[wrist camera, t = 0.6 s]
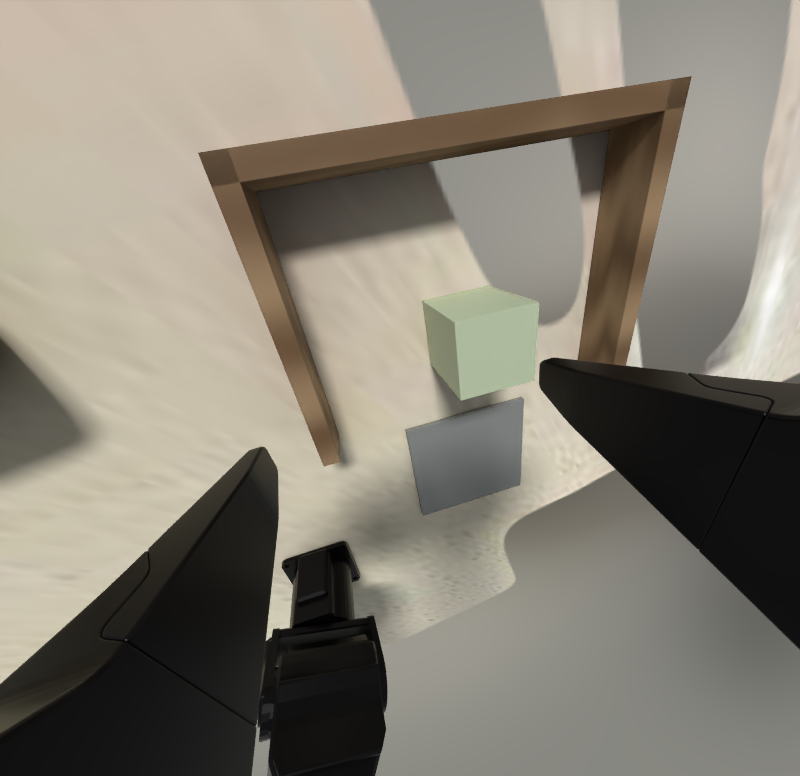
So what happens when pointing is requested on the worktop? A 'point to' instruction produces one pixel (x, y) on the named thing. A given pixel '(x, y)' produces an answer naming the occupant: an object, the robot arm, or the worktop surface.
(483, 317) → the sage block
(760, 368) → the worktop surface
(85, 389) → the worktop surface
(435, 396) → the worktop surface
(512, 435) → the slate mat
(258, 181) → the brown open-sided frame
